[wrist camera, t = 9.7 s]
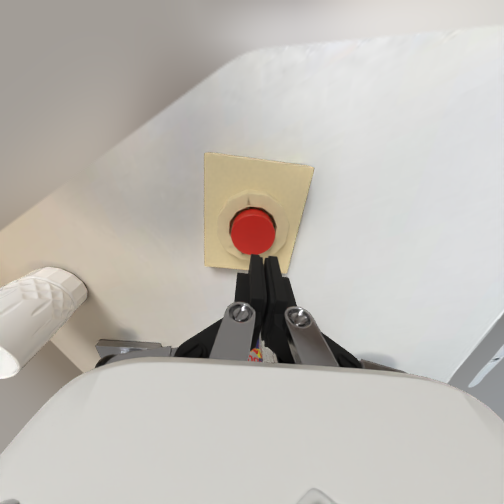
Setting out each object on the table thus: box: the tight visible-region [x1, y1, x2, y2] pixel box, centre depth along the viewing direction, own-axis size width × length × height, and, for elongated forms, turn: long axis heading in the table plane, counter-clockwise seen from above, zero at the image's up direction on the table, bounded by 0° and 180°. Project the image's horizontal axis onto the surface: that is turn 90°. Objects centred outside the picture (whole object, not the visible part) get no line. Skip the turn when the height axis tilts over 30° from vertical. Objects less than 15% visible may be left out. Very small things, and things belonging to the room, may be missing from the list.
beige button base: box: [204, 152, 314, 273], centre depth 20 cm, size 12×10×4 cm
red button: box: [231, 209, 275, 255], centre depth 18 cm, size 4×4×2 cm
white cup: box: [0, 267, 87, 379], centre depth 22 cm, size 8×8×10 cm
